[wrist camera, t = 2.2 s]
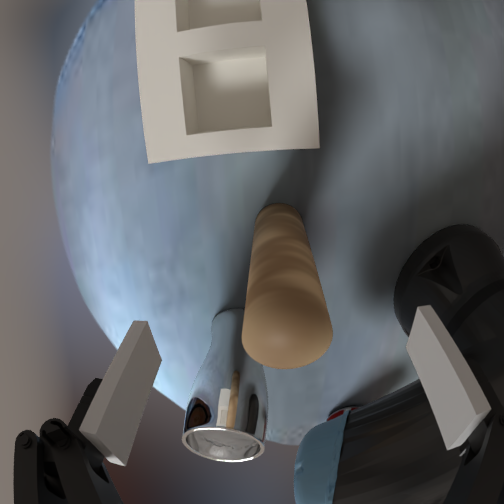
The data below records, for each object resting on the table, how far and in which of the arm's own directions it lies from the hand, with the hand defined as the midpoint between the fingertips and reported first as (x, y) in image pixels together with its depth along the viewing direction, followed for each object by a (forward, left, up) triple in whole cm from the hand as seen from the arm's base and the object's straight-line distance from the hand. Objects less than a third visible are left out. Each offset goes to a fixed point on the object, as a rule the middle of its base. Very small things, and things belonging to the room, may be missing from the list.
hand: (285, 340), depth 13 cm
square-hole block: (+3, -16, -15) cm, 22 cm away
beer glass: (+5, +12, -16) cm, 20 cm away
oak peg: (0, 0, -15) cm, 15 cm away
